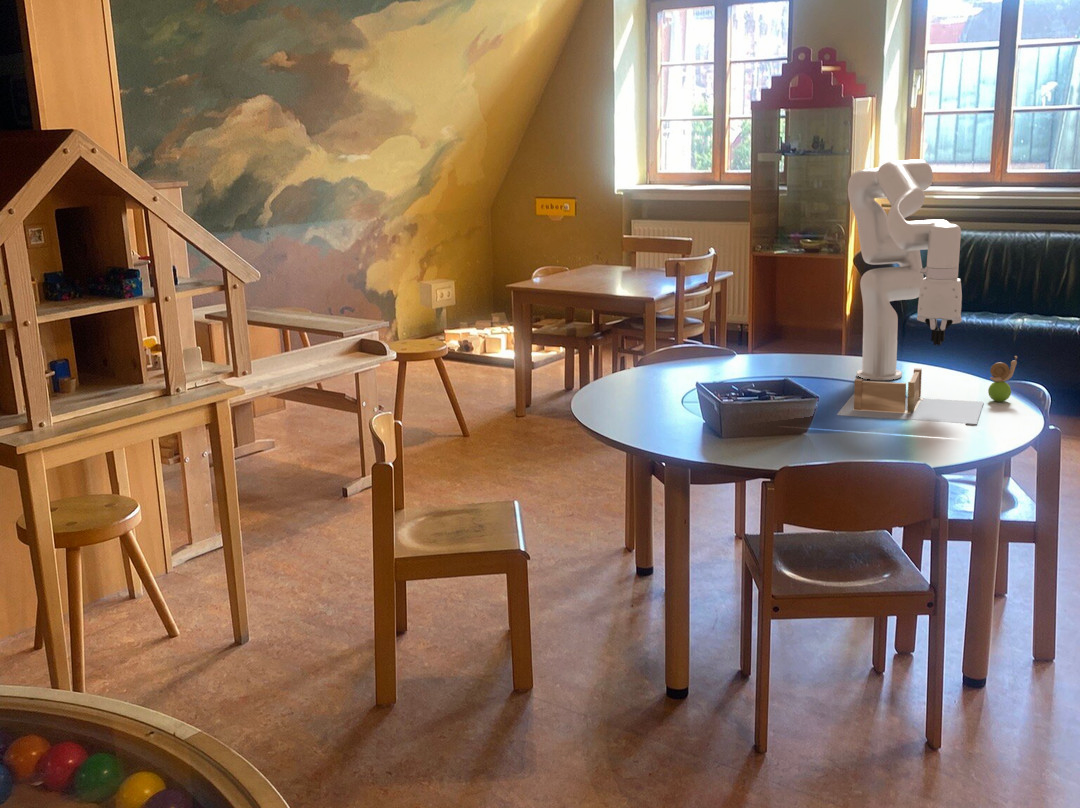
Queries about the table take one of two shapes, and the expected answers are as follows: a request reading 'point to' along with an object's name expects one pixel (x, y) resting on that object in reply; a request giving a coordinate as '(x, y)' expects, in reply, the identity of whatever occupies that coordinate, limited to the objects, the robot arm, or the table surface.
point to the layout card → (925, 411)
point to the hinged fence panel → (914, 389)
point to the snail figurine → (1001, 381)
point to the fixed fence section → (879, 396)
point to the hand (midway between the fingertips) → (937, 343)
